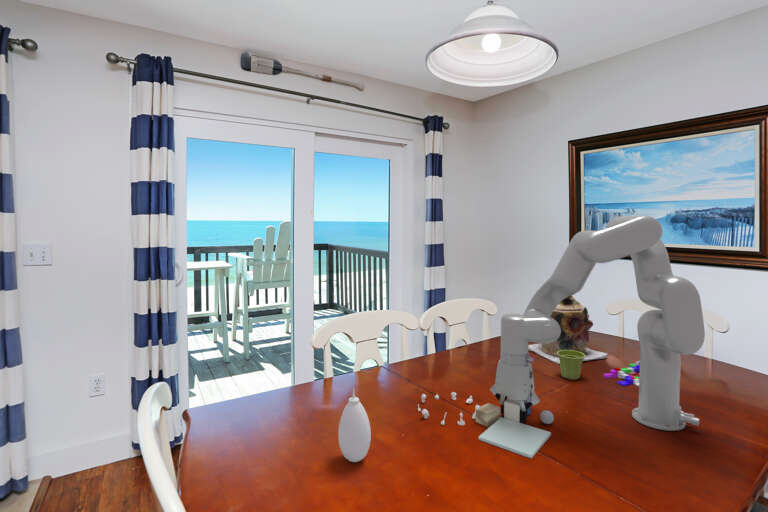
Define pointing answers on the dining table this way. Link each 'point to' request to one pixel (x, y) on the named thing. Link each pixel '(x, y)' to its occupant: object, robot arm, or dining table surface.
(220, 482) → the dining table surface
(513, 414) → the cream block
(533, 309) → the robot arm
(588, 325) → the cookie jar
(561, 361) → the plant pot
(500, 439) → the seafoam tile
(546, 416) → the grey ball
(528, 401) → the blue cube
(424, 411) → the game piece set
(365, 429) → the white air blower bulb
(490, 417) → the sand wood block
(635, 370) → the building block set
